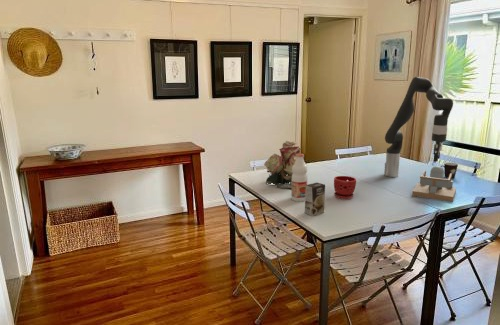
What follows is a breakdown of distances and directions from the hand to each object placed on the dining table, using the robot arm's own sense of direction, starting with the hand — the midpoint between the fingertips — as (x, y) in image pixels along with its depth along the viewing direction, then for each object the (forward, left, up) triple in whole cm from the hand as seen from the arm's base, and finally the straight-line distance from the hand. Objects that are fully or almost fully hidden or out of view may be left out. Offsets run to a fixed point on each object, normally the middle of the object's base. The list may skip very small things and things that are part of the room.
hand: (436, 159), depth 216 cm
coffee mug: (+3, +52, -23) cm, 57 cm away
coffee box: (-51, -60, -23) cm, 82 cm away
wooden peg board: (0, +7, -23) cm, 24 cm away
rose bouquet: (-88, -19, -24) cm, 93 cm away
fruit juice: (-68, -44, -23) cm, 84 cm away
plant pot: (-46, -26, -23) cm, 58 cm away
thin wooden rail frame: (0, +8, -16) cm, 18 cm away
